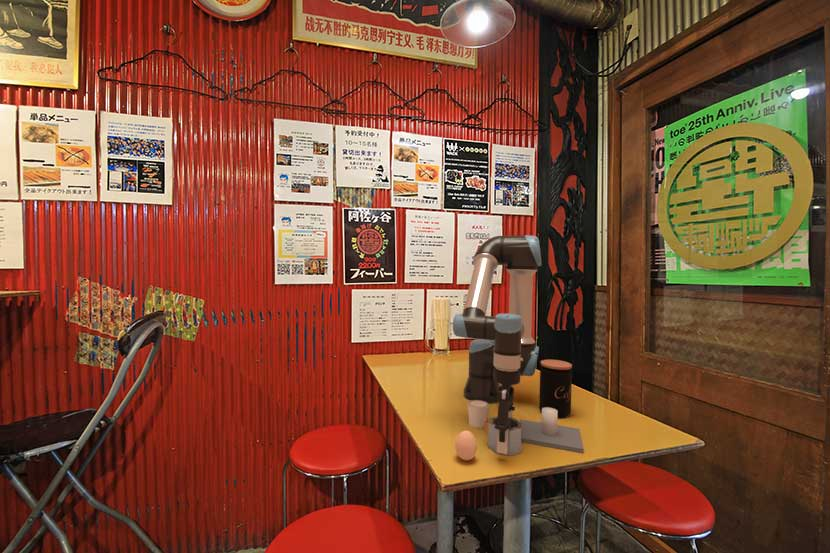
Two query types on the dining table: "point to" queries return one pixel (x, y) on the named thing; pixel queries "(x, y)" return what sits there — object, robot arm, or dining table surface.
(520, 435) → the mug
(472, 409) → the tan cup
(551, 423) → the grey plate with knob
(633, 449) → the dining table surface
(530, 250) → the robot arm
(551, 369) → the coffee jar
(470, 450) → the egg
